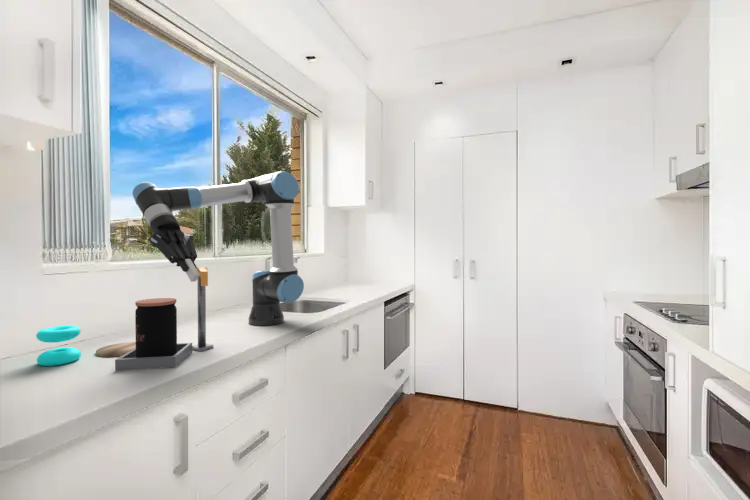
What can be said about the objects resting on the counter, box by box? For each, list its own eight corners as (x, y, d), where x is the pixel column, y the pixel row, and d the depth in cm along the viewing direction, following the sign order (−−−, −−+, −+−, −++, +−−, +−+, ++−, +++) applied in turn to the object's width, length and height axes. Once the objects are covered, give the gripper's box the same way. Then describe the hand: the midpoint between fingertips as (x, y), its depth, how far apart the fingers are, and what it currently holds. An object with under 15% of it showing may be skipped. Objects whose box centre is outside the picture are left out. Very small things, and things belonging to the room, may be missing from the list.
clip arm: (195, 279, 125) (195, 267, 125) (207, 279, 127) (207, 267, 127) (197, 286, 106) (197, 271, 106) (211, 285, 107) (211, 271, 107)
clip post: (203, 345, 128) (203, 274, 128) (213, 347, 126) (212, 274, 125) (190, 349, 124) (189, 275, 123) (199, 351, 121) (199, 275, 121)
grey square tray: (192, 352, 121) (192, 342, 121) (175, 367, 105) (175, 356, 105) (140, 354, 118) (139, 345, 118) (115, 370, 103) (115, 359, 103)
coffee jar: (139, 357, 114) (138, 299, 114) (178, 353, 119) (178, 297, 118) (132, 368, 105) (131, 304, 104) (175, 363, 109) (174, 301, 109)
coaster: (158, 343, 132) (158, 340, 132) (139, 355, 117) (139, 353, 117) (110, 345, 129) (110, 342, 129) (85, 358, 114) (85, 355, 114)
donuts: (74, 330, 108) (30, 333, 104) (75, 364, 108) (30, 369, 104) (84, 323, 117) (43, 326, 113) (84, 355, 117) (44, 359, 113)
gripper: (177, 231, 124) (209, 284, 116) (135, 229, 113) (168, 289, 104) (187, 214, 121) (220, 268, 113) (145, 211, 110) (179, 271, 102)
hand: (195, 278), depth 109 cm, fingers closed
